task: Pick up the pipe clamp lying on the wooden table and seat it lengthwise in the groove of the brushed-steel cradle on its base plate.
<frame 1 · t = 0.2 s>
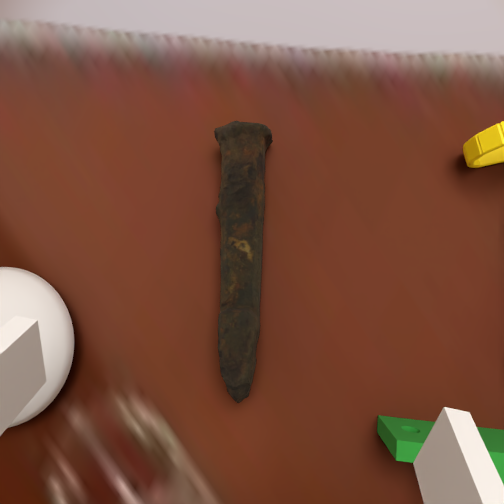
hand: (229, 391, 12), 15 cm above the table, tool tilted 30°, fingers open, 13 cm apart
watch: (492, 156, 27), on the table
pipe clamp: (457, 449, 25), on the table
flower in vase: (23, 350, 28), on the table
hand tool: (252, 262, 28), on the table
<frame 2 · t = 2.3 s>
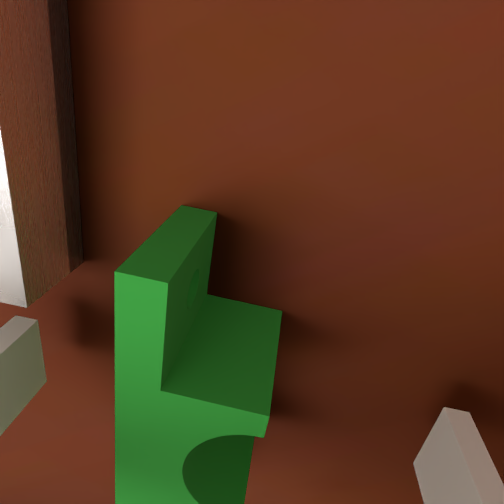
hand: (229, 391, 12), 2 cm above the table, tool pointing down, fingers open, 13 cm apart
pipe clamp: (217, 352, 14), on the table
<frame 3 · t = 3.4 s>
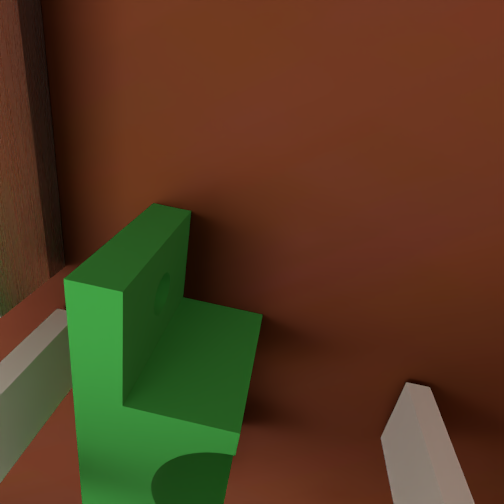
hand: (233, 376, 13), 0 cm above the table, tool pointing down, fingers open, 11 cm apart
pipe clamp: (196, 357, 13), on the table
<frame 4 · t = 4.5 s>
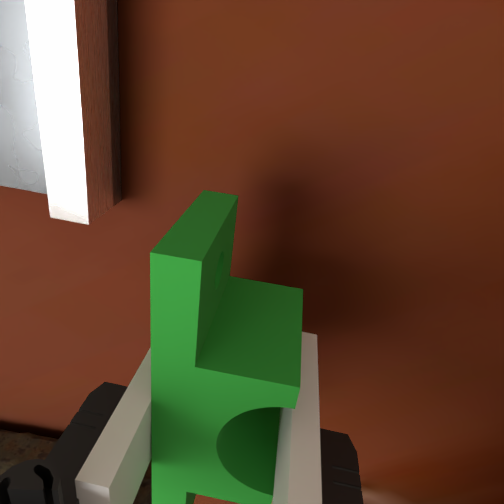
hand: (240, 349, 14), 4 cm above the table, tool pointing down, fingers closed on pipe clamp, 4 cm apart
pipe clamp: (239, 335, 14), point 4 cm above the table, touching gripper
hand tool: (44, 427, 25), on the table
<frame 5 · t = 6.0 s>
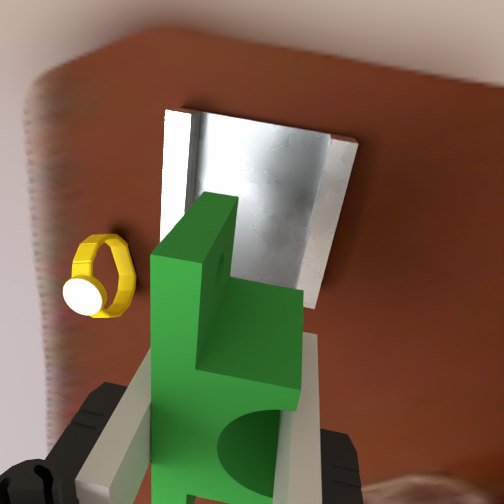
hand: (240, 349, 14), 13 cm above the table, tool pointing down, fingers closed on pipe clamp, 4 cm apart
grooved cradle: (253, 204, 26), on the table
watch: (125, 258, 29), on the table
pipe clamp: (240, 336, 14), point 13 cm above the table, touching gripper
when the fingers open (3 cm above the table, at t = 7.8 s): pipe clamp drops 2 cm, resting on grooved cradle.
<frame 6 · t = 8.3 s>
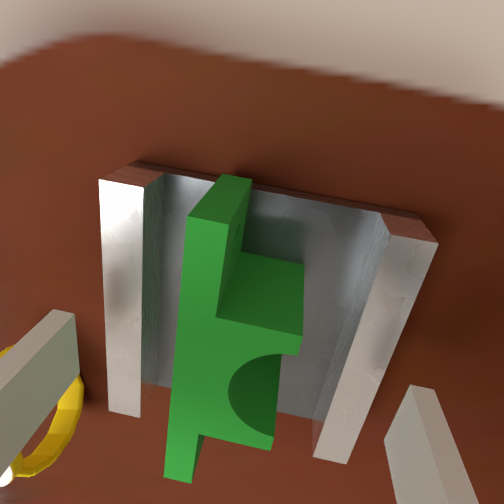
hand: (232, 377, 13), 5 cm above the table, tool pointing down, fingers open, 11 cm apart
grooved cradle: (251, 303, 17), on the table
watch: (67, 362, 20), on the table
pipe clamp: (246, 306, 16), point 1 cm above the table, touching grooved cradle
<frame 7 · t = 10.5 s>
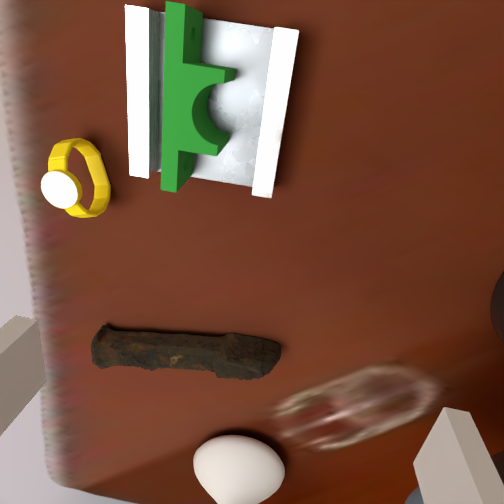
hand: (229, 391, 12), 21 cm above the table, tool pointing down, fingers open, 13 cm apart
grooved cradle: (213, 106, 28), on the table
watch: (99, 169, 32), on the table
pipe clamp: (205, 104, 27), point 1 cm above the table, touching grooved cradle
flower in vase: (245, 451, 47), on the table
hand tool: (191, 332, 39), on the table
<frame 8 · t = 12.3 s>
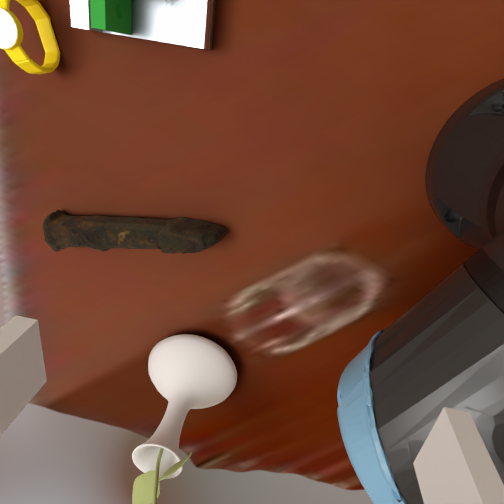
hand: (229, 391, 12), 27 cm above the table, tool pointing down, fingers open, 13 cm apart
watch: (50, 36, 33), on the table
flower in vase: (201, 358, 48), on the table
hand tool: (143, 220, 40), on the table
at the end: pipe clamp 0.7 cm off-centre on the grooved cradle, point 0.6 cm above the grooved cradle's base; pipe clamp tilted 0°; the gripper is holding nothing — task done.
